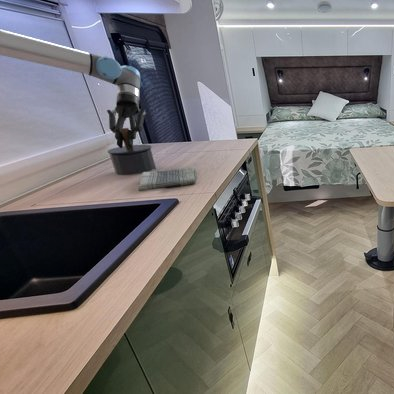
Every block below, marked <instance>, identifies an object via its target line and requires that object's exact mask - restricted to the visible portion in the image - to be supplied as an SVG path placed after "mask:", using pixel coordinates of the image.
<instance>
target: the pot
mask: <svg viewBox="0 0 394 394" xmlns="http://www.w3.org/2000/svg"><path fill="white" fill-rule="evenodd" d="M153 155H154V154H153V151H152V148H151V149H149V150H146V151H143V152H139V153H134V154H124V155H118V154H109V157H110V159H111V163H112V165H113V169H114V172H115V174H116V175H118V176H119V175H120V176H131V175H138V174H142V173H143V172H152V171H153V170H155V171H156V169H157V168H156V163H155V159H154V156H153Z"/></svg>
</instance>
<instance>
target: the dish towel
mask: <svg viewBox="0 0 394 394" xmlns="http://www.w3.org/2000/svg"><path fill="white" fill-rule="evenodd" d="M196 183H197V168H194V167H187V168H186V167H185V168H178V169H177V168H176V169H167V170H166V169H165V170H155V171H148V172H143V173H141V177H140V181H139V185H138V187H137V188H138V191H139V192H144V191H151V190H158V189H166V188H167V189H168V188H173V187H174V188H175V187H181V186H188V185H193V184H196Z"/></svg>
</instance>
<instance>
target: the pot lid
mask: <svg viewBox="0 0 394 394" xmlns="http://www.w3.org/2000/svg"><path fill="white" fill-rule="evenodd" d="M128 130H130V128H128V127H123V128H121V129H120V132H121V135H122V138H123V148H120V147H119V146H117V147H113V148H110V149H108V150H107V154H109V155H110V154H118V155H124V154H134V153H139V152H143V151H146V150H149V149H151V150H152V145H150V144H133V147H130V146H129V145H128V144H127V141H128Z"/></svg>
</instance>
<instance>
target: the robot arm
mask: <svg viewBox="0 0 394 394" xmlns="http://www.w3.org/2000/svg"><path fill="white" fill-rule="evenodd" d="M0 56H3V57H7V58H11V59H16V60H21V61H26V62H30V63H35V64H40V65H43V66H49V67H53V68H56V69H57V68H58V69H62V70H67V71H71V72H75V73H79V74H85V75H87V76H89V77H93V78H96V79H99V80H101V81H104V82H107V83H109V84H112V85H115V86H117V91H116V100H115V101H116V106H115V107H114V109H112V110H111V109H107V110H106V112H107V114H108V126H109V127H108V128H109V130H110V131H111V132H112V134H114V138H115V139H116V145H117V147H120V148H123V146H124V141H123V138H122V135H121V132H120V129H121V128H124V125H125V121H127V119H128V120H129V130H128V141H127V144H128V145H129V146H130V147H133V145H134V140H136V139H137V133H138V132H139V133H141V132H143V127H144V121H145V117H146V116H147V114H148V113H147V112H146V110H145V109H144V108H140V92H141V91H140V89H141V83H142V81H141V73H140V71H139V70H138V69H137V68H136V67H134V66H132V65H126V64H125V65H121V64H120V63H119V62H118V61H117V60H116V59H114V58H112V57H109V56H101V55H98V54H94V53H90V52H87V51H82V50H79V49H76V48H71V47H68V46H64V45H60V44H57V43H54V42H49V41H45V40H42V39H39V38H34V37H31V36H26V35H23V34H20V33H15V32H12V31H8V30H4V29H0ZM116 116H117V119H116ZM136 116H137V119H136Z"/></svg>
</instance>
